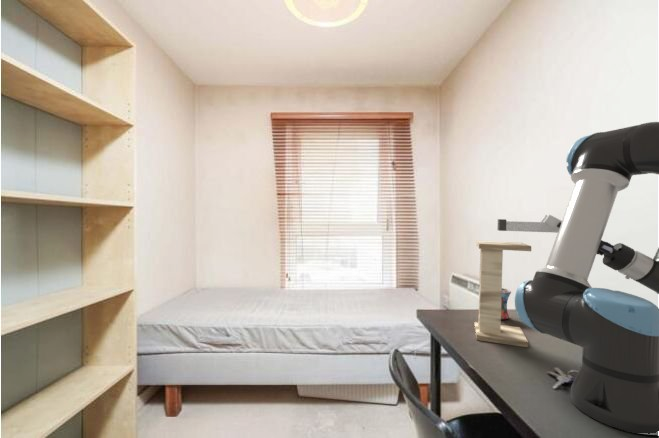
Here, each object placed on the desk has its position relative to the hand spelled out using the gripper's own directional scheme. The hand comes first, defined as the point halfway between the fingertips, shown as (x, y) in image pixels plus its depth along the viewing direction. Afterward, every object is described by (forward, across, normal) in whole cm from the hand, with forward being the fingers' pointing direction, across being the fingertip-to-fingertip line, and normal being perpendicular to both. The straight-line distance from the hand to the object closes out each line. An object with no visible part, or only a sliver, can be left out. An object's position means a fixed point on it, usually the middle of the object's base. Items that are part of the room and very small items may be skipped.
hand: (544, 218), depth 101 cm
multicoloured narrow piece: (-11, +23, -38) cm, 46 cm away
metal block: (-1, 0, -5) cm, 5 cm away
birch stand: (-9, 0, -39) cm, 40 cm away
